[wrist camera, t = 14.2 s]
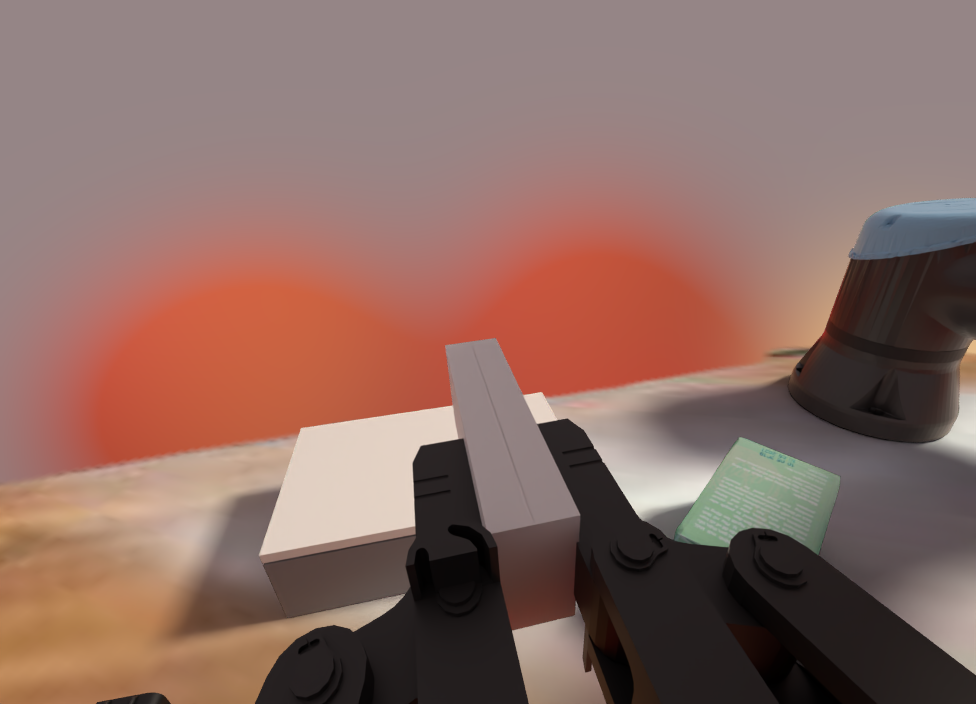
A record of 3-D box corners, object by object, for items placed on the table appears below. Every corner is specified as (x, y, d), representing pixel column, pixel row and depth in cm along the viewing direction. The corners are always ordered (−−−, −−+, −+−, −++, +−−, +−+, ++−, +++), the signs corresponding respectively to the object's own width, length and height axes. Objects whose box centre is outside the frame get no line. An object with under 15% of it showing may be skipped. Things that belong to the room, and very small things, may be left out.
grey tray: (541, 445, 47) (541, 400, 44) (591, 553, 35) (596, 501, 32) (318, 483, 43) (304, 437, 41) (287, 618, 31) (263, 565, 28)
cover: (541, 398, 44) (541, 392, 44) (597, 499, 32) (597, 491, 31) (303, 434, 40) (301, 428, 40) (262, 563, 28) (258, 555, 28)
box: (656, 601, 31) (672, 531, 28) (718, 496, 39) (737, 433, 36) (769, 679, 26) (806, 607, 23) (812, 541, 35) (844, 473, 31)
